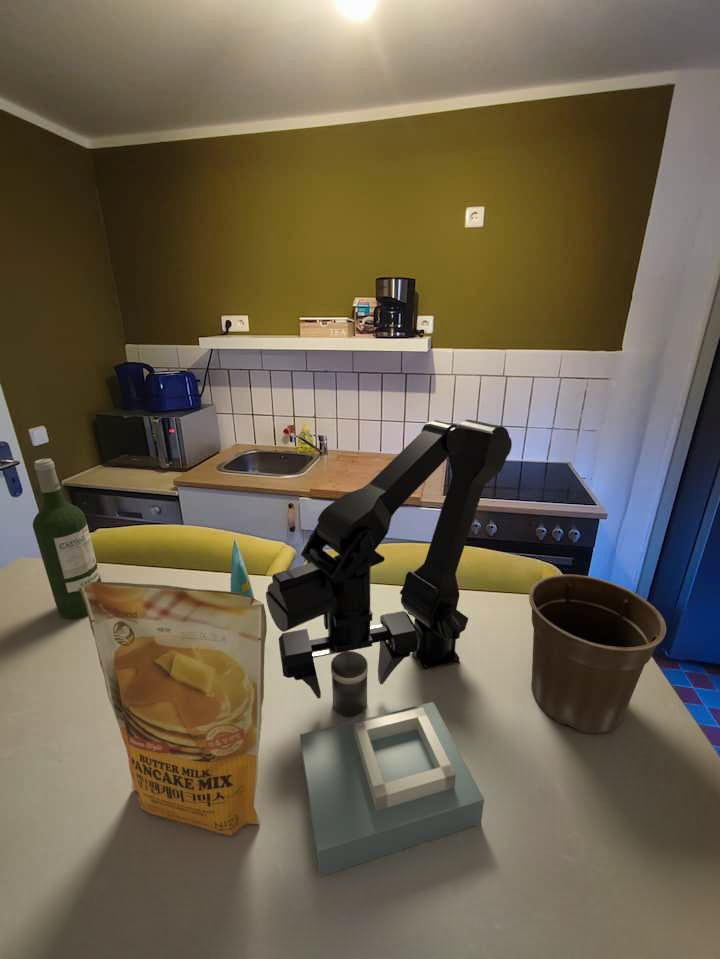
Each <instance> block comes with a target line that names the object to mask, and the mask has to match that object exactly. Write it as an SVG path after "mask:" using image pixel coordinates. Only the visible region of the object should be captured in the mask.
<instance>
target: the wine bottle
mask: <svg viewBox="0 0 720 959" xmlns="http://www.w3.org/2000/svg"><path fill="white" fill-rule="evenodd" d="M33 466H34V469H35V471H36V475H37V479H38V483H39V484H38V485H39V487H40V493H41V496H42V501H43V507H42V508H41V509H40V510H39V511H38V512H37V514H36V515H35V516H34V518H33V522H32V529H33V532H34V535H35V538H36V542H37V545H38V549H39V553H40V555H41V559H42V563H43V566H44V569H45V573H46V576H47V579H48V583H49V586H50V590H51V593H52V596H53V600H54V603H55V606H56V609H57V613H58V614H59V616H60V617H62V618H64V619H71V620H72V619H79V618H84V617H86V616H88V613H87V609H86V606H85V603H84V600H83V598H82V595H81V593H80V591H79V590H78V589H79V588H81V587H83V586H85V585H87V584H89V583H91V582H102V579H101V575H100V571H99V567H98V563H97V559H96V554H95V550H94V547H93V543H92V538H91V534H90V531H89V526H88V523H87V518H86V515H85V513H84V512H83V511H82V510H81V509H80V508H79V507H78V506H76V505H74V504H72V503H69V502H67V500H66V499H65V498H64V494H63V491H62V488H61V484H60V482H59V478H58V476H57V472H56V471H57V470H56V468H55V467H56V466H55V462H54V461H53V460H52V458H42V459H41V458H40V459H38V460H35V461H34V464H33Z"/></svg>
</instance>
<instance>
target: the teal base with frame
mask: <svg viewBox="0 0 720 959" xmlns="http://www.w3.org/2000/svg"><path fill="white" fill-rule="evenodd" d="M299 742H300V752H301V753H300V754H301V763H302V768H303V769H302V770H303V775H304V776H303V777H304V782H305V788H306V795H307V801H308V808H309V814H310V821H311V828H312V834H313V835H312V836H313V840H314V846H315V855H316V861H317V867H318V874H319V878H322V877H324V876H328V875H330V874H334V873H336V872H339V871H344V870H346V869H349V868H352V867H355V866H357V865H361V864H364V863H367V862H369V861H373V860H377V859H379V858H382V857H385V856H389V855H392V854H394V853H398V852H401V851H403V850H407V849H409V848H412V847H416V846H419V845H421V844H424V843H427V842H431V841H433V840H436V839H440V838H443V837H446V836H448V835H452V834H454V833H457V832H461V831H464V830H467V829H471V828H473V827H476V826H479V825H481V824H482V819H483V818H482V817H483V813H484V812H483V811H484V804H485V798H484V796H483V794H482V792H481V791H480V790H481V789H480V788H479V786H478V785H477V783H476V781H475V779H474V777H473V775H472V774H471V771H470V770H469V767H468V765H467V764H466V762H465V760H464V757H463V755H462V754H461V752H460V750H459V748H458V746H457V745H456V743H455V741H454V739H453V737H452V735H451V733H450V731H449V729H448V728H447V725H446V724H445V722H444V719H443V718H442V715H441V714H440V712H439V710H438V708H437V706H436V705H435V703H434V701H431V702H428V703H424V704H419V705H415V706H410V707H408V708H402V709H399V710H395V711H390V712H388V713H383V714H378V715H375V716H371V717H366V718H362V719H358V720H354V721H353V720H352V721H349V722H346V723H341V724H337V725H333V726H329V727H325V728H320V729H317V730H313V731H309V732H304V733H301V734H299Z"/></svg>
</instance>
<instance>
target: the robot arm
mask: <svg viewBox="0 0 720 959" xmlns="http://www.w3.org/2000/svg"><path fill="white" fill-rule="evenodd" d="M512 443H513V442H512V439H511V437H510V432H509V431H508V429H507V428H506V427H504V426H501V425H496V424H492V423H487V422H482V421H477V420H473V419H465V420H463V421H461V422H460V423H459V424H456V423H450V422H446V421H440V420H437V419H436V420H430V421H427V422H426V423H425V424H424V425H423V427H422V428H421V431H420V433H418V435H417V436H416V437H415V438H413V440H412V441H411V442H410V443H409V444H408V445H406V447H404V448H403V450H402V451H400V453H399V454H397V456H395V458H394V459H392V460H390V462H389V463H388V464H387V465H386V466H385V467H384V468H383V469H381V471H380V472H379V473H378V474H377V475H376V476H375V477H374V478H373V479H372V480H371V481H370V482H369V483H368V484H366V485H364V486H363V487H361V488H359V489H356V490H352V491H351V492H347V493H345V494H343V495H341V496H340V497H339V498H337V499H336V500H334V501H333V502H332V503H331V504H329V505H328V506H326V507H325V508H324V509H323V510H322V511H321V513H320V514H319V516H318V518H317V524H316V526H315V527H314V530H313V531H312V533H311V534H310V537H309V538H308V540H307V542H306V544H305V546H304V548H303V549H302V551H301V554H300V556H301V557H302V558H304V560H306V563H305V564H303V565H299V566H298V567H294V568H292V569H288V570H283V571H278V572H276V573H274V574H273V575H272V576H271V577H272V578H271V579H272V582H271V583H268V586H267V590H266V592H265V599H266V604H267V608H268V610H269V614H270V616H271V619H272V621H273V623H274V624H275V626H276V628H277V629H278V630H280V631H281V632H282V633H281V635H280V636H279V638H278V644H279V654H280V661H281V663H280V664H281V669H282V676H283V677H285V678H287V679H290V678H293V679H294V680H295V681H300V680H302V681H303V682H304V683H305V684H306V685H307V686H309V688H310V689H311V691H312V692H313V694H314V695H315V697H316V698H317V699H321V697H322V696H321V695H322V692H321V689H320V687H321V686H320V683H319V678H318V675H317V669H316V666H315V662H314V659H316V658H319V657H326V656H330V655H334V654H335V655H336V654H339V653H342V652H346V651H357V650H361V649H364V648H365V649H366V648H370V647H373V644H375V643H379V652H378V654H379V655H378V665H377V666H378V667H377V678H378V679H377V680H378V683H379V685H384V683H385V682H386V681H387V679H388V678H389V677H390V675H392V672H393V671H394V670H395V669H396V667H397V666H398V665H399V664H400V663H401V662H402V661H403V660H404V659H406V658H408V657H410V656H411V653H413V655H414V657H415V659H417V661H418V662H419V664H420V666H421V668H422V669H423V670H428V669H432V668H436V667H442V666H446V665H451V664H455V663H459V662H460V656H459V655H458V653H457V651H456V644H457V640H458V639H460V638H461V633H463V632H464V631H466V627H467V625H468V622H469V617H467V615H465V614H463V613H462V612H460V611H459V610H458V609H457V608H458V604H459V599H460V591H459V590H460V589H459V585H458V580H457V576H456V575H457V570H458V566H459V564H460V560H461V558H462V555H463V552H464V549H465V545H466V543H467V539H468V536H469V533H470V530H471V527H472V525H473V522H474V518H475V515H476V512H477V509H478V505H479V504H480V500H481V497H482V494H483V491H484V489H485V486H486V485H487V484H488V483H489V482H491V480H492V479H494V478H495V477H496V476H497V475H498V474H499V473H500V472H501V471H502V469H503V467H504V466H505V462H506V460H507V458H508V456H509V455H510V453H511V450H512V447H513V444H512ZM447 459H448V462H449V468H450V471H451V472H450V473H451V477H450V481H449V484H448V487H447V490H446V494H445V497H444V500H443V503H442V507H441V509H440V512H439V515H438V518H437V522H436V525H435V527H434V528H435V529H434V531H433V535H432V538H431V542H430V545H429V548H428V551H427V553H426V557H425V559H424V562H423V564H422V565H421V566H419V567H418V568H417V569H416V570H415V571H412V570H409V571H408V572H407V573H406V574H405V579H404V584H403V586H402V588H401V589H400V591H399V595H401V597H400V603H401V605H402V608H403V609H404V610H402V611H398V612H397V611H395V612H392V613H385V614H382V615H380V617H379V618H380V621H379V623H380V624H378V625H371V622H373V612H372V610H371V567H374V566H376V565H379V564H381V563H384V561H386V560H385V559H386V558H385V557H384V555H382V554H380V553H378V552H377V551H376V549H377V548H378V547H379V545H380V544H381V543H382V541H384V539H385V537H386V536H387V535H388V533H389V530H390V526H391V522H392V518H393V516H394V514H395V513H396V511H398V509H399V508H400V507H401V506H402V505H403V504H405V502H406V501H407V500H408V499H409V498H411V496H412V495H413V494H414V493H415V492H416V491H417V490H418V489H419V488H420V487H421V486H422V485H423V484H424V483H425V481H426V480H428V478H430V476H432V475H433V473H434V472H436V470H437V469H438V468H439V467H440V466H441V465H443V463H444V462H445V461H446V460H447ZM326 546H328V547H329V548H330V549H331V550H332V551H334V552H335V553H336V554H337V555H335V556H331V555H330V554H329V553H328V552H326V551H325V550H323V549H324V548H325V547H326ZM405 610H406V611H405ZM321 616H323V626H324V629H325V630H327V633H328V634H327V636H325V637H321V638H315V639H310V636H309V632H308V628H305V629H303V628H302V629H300V630H299V629H298V630H292V631H290V630H291V629H294V628H296V627H298V626H301V625H303V624H305V623H307V622H310V621H312V620H315V619H317V618H319V617H321ZM410 616H411V617H413V618H414V622H413V621H412V619H411V617H410ZM287 631H288V632H287Z"/></svg>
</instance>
